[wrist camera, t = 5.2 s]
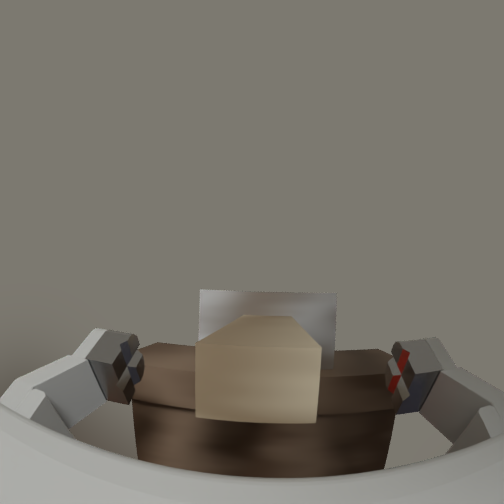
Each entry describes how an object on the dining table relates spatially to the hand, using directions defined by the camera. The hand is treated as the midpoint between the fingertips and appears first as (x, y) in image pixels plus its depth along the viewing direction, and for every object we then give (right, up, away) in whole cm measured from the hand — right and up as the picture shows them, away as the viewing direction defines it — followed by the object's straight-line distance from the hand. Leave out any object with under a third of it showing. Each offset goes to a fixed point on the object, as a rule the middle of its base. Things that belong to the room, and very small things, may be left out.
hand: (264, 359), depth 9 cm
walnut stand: (0, -29, +4) cm, 29 cm away
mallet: (0, -2, +4) cm, 5 cm away
